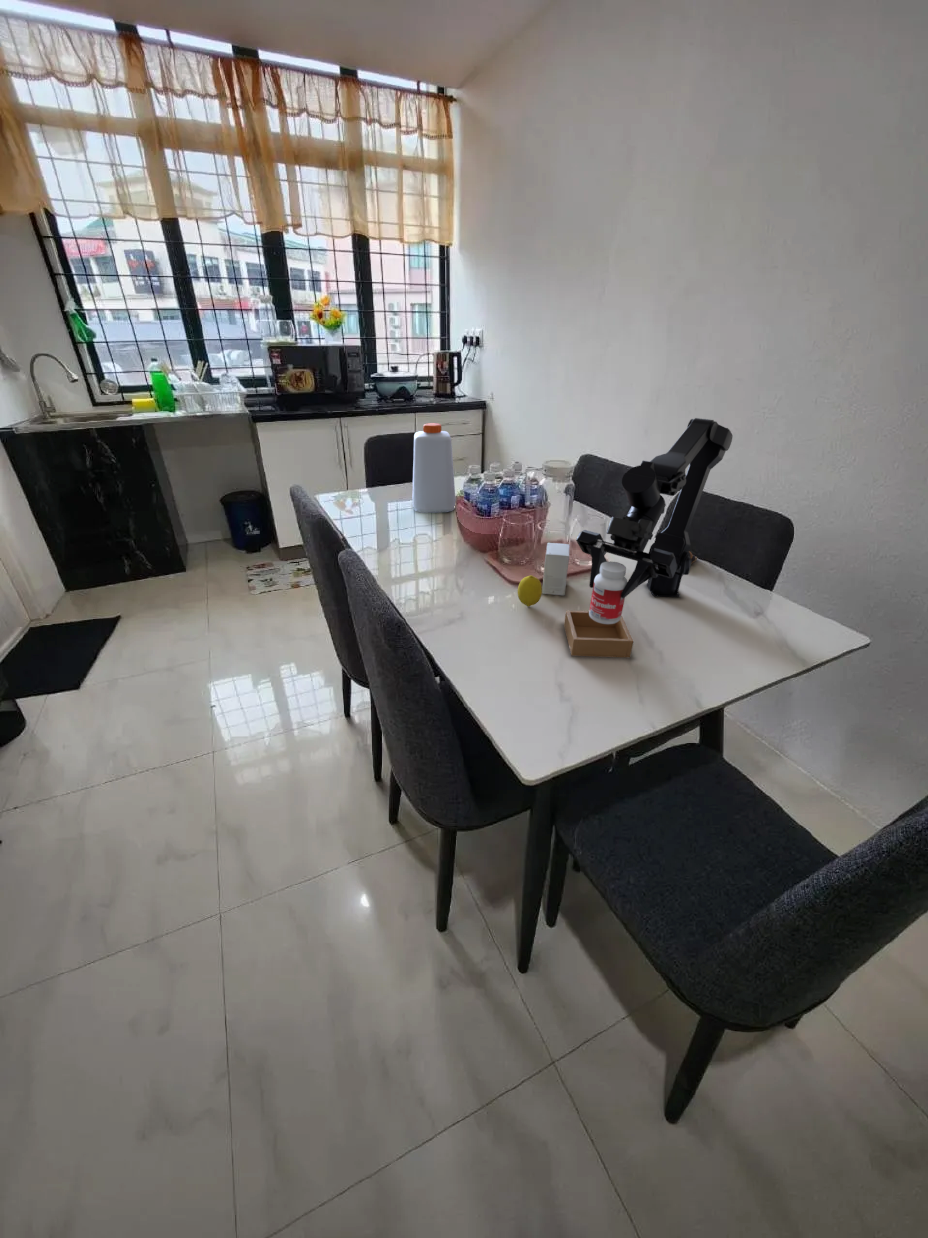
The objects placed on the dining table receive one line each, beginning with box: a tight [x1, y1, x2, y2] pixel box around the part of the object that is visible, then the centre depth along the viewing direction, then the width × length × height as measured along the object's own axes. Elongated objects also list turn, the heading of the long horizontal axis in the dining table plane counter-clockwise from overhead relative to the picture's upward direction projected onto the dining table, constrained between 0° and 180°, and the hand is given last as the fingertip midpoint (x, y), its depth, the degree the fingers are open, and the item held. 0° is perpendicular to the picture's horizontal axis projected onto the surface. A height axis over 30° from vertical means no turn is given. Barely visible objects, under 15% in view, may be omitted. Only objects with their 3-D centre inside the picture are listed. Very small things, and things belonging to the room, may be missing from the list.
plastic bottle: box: [411, 422, 456, 514], centre depth 173 cm, size 15×15×28 cm
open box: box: [563, 609, 635, 659], centre depth 104 cm, size 12×12×4 cm
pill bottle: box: [588, 561, 628, 624], centre depth 96 cm, size 6×6×11 cm
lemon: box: [517, 574, 543, 608], centre depth 115 cm, size 6×6×8 cm
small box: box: [542, 542, 571, 596], centre depth 123 cm, size 8×6×10 cm
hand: (606, 592), depth 95 cm, fingers closed on pill bottle, 6 cm apart
